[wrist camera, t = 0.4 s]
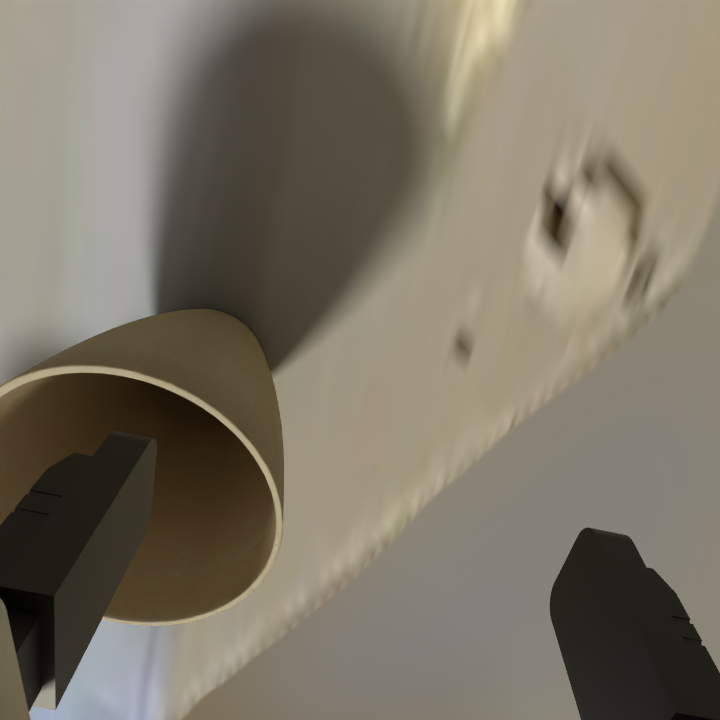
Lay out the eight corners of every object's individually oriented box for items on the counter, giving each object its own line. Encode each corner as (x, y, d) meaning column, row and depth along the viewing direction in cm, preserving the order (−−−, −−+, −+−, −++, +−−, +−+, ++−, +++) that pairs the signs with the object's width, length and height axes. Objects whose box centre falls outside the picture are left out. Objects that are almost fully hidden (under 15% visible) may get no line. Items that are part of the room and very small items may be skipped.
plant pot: (85, 248, 38) (-91, 355, 24) (318, 260, 38) (280, 376, 24) (116, 444, 45) (-8, 620, 31) (315, 455, 45) (283, 637, 30)
